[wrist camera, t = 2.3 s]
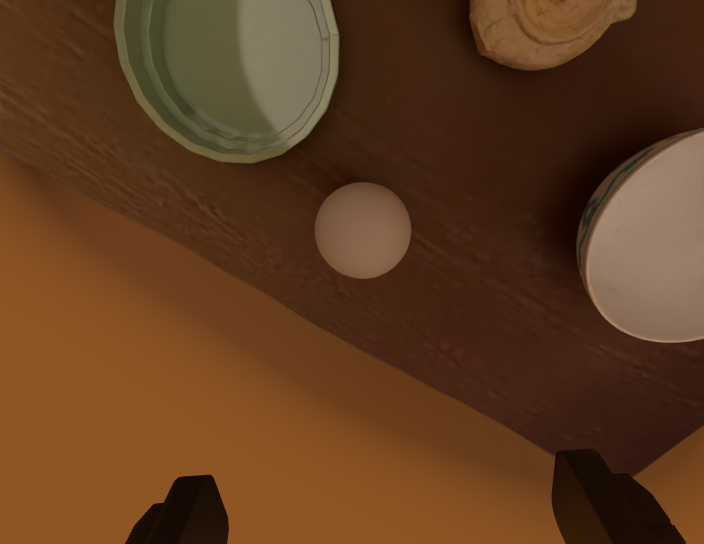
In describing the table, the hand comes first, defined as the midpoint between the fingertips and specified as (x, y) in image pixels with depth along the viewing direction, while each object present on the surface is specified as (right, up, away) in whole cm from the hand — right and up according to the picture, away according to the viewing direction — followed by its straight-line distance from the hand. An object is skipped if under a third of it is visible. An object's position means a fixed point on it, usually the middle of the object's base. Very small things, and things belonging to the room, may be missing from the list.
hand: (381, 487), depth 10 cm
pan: (-8, +21, +20) cm, 30 cm away
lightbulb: (0, +11, +24) cm, 27 cm away
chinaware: (+22, +10, +24) cm, 35 cm away
